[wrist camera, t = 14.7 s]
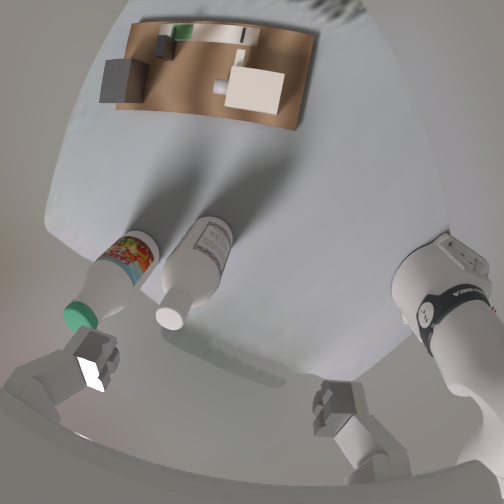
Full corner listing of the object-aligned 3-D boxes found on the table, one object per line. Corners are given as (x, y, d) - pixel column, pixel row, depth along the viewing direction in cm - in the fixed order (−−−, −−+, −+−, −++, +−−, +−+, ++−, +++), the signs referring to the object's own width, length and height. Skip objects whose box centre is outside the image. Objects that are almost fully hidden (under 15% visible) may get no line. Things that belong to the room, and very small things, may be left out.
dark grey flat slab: (180, 27, 29) (170, 19, 25) (173, 60, 31) (162, 55, 28) (172, 27, 29) (162, 19, 25) (165, 60, 31) (153, 55, 28)
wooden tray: (313, 38, 30) (314, 35, 28) (294, 130, 36) (295, 130, 35) (136, 25, 30) (131, 23, 28) (120, 109, 36) (114, 109, 34)
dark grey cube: (149, 64, 32) (131, 58, 27) (142, 103, 34) (124, 102, 29) (125, 64, 32) (106, 60, 27) (119, 103, 34) (99, 102, 29)
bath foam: (195, 258, 46) (150, 344, 28) (185, 218, 43) (126, 290, 25) (237, 254, 45) (211, 345, 27) (229, 212, 42) (193, 286, 24)
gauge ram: (287, 62, 31) (288, 54, 26) (276, 115, 34) (276, 114, 30) (226, 54, 31) (218, 45, 26) (216, 105, 34) (207, 103, 30)
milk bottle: (166, 267, 47) (114, 349, 29) (130, 272, 49) (72, 347, 31) (152, 225, 44) (84, 294, 26) (114, 233, 45) (43, 298, 27)
